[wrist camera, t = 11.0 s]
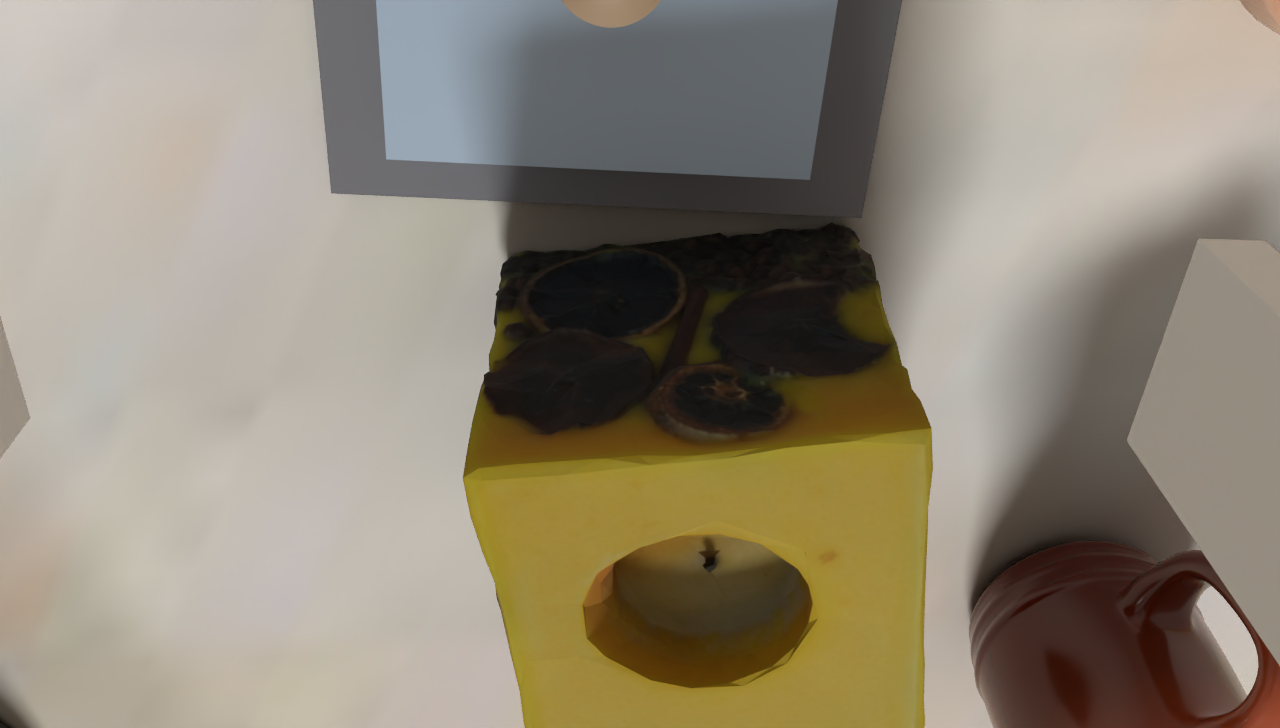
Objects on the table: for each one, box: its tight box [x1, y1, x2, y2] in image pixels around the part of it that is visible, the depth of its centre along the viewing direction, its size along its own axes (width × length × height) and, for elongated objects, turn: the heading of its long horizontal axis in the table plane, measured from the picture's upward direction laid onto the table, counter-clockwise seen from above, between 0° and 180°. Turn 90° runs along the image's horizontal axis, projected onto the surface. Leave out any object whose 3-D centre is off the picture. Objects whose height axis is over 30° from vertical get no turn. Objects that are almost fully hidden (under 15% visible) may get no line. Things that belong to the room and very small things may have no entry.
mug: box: [969, 541, 1280, 728], centre depth 33 cm, size 12×9×10 cm
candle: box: [463, 223, 933, 728], centre depth 29 cm, size 10×10×10 cm
